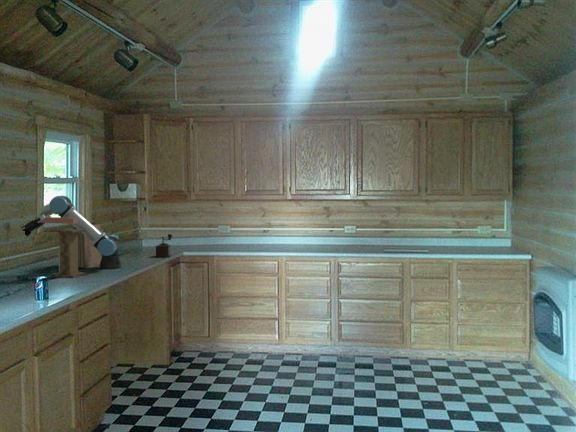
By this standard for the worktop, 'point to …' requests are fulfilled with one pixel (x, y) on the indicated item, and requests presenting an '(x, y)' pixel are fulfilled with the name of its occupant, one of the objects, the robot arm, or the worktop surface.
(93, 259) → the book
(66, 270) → the shelf stand
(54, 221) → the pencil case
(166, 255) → the coffee grinder
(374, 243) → the worktop surface
